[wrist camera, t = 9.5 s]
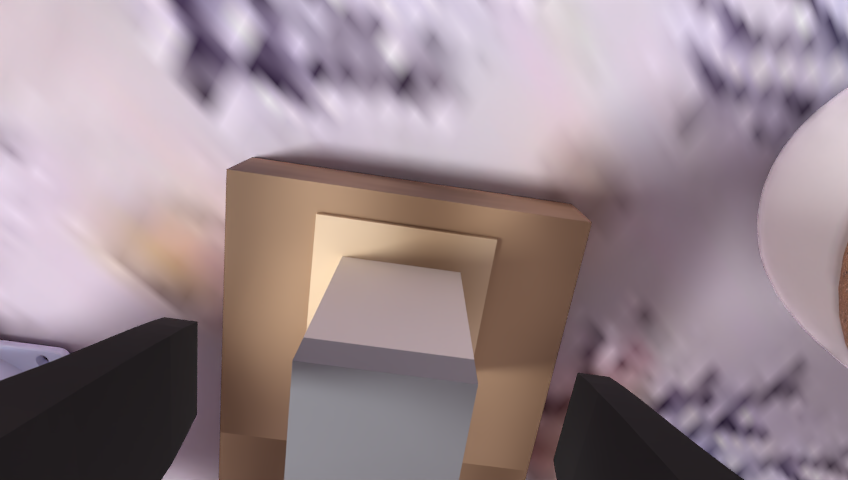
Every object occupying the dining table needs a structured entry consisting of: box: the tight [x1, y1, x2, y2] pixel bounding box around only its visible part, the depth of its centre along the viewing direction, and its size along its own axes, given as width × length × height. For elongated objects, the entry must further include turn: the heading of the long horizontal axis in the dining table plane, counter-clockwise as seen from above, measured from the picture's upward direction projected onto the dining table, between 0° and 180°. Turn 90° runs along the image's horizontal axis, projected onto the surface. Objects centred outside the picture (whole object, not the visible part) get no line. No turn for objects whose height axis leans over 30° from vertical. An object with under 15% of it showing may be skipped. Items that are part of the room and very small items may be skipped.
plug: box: [284, 256, 478, 480], centre depth 15 cm, size 4×4×6 cm
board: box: [219, 157, 592, 480], centre depth 20 cm, size 12×18×3 cm, turn 172°
